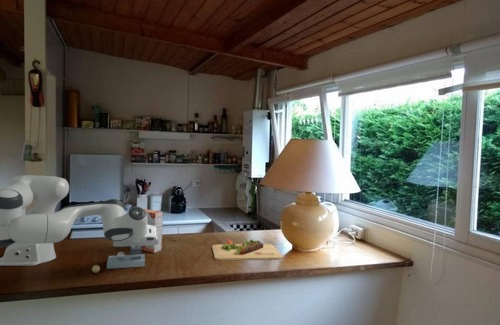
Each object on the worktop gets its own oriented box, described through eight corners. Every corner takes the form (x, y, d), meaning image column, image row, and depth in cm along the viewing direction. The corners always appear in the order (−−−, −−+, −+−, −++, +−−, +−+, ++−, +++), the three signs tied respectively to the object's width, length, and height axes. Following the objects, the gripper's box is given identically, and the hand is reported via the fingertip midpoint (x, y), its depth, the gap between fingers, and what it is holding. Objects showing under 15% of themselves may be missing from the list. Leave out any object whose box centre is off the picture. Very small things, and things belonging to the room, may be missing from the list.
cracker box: (133, 248, 180) (135, 209, 179) (142, 246, 186) (143, 208, 185) (153, 253, 174) (155, 213, 173) (161, 250, 179) (163, 211, 178)
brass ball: (91, 274, 143) (91, 266, 143) (92, 271, 146) (92, 264, 146) (99, 273, 144) (99, 266, 144) (100, 271, 147) (100, 263, 147)
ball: (116, 260, 155) (117, 253, 155) (117, 257, 158) (117, 251, 158) (124, 259, 156) (124, 252, 156) (124, 257, 159) (124, 250, 159)
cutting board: (215, 261, 168) (215, 246, 168) (211, 247, 191) (212, 234, 191) (283, 260, 174) (284, 246, 174) (272, 247, 197) (273, 234, 197)
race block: (130, 254, 163) (130, 237, 163) (130, 250, 169) (131, 234, 169) (141, 253, 165) (141, 237, 165) (141, 249, 171) (141, 234, 170)
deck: (106, 268, 150) (107, 263, 150) (108, 261, 160) (108, 256, 160) (144, 266, 155) (144, 260, 155) (144, 259, 165) (144, 254, 165)
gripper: (111, 239, 148) (112, 254, 158) (159, 237, 155) (157, 252, 165) (112, 227, 152) (113, 242, 162) (159, 225, 159) (157, 240, 169)
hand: (136, 247), depth 163 cm, fingers closed, pressing on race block
